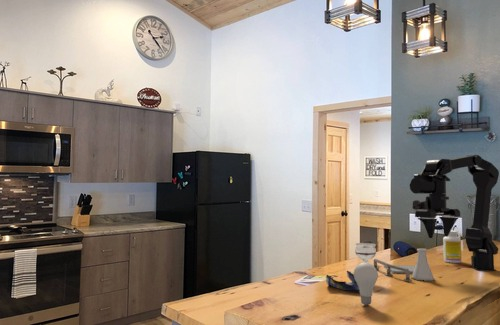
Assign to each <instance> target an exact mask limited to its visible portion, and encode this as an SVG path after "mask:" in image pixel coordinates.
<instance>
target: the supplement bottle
mask: <svg viewBox="0 0 500 325" xmlns="http://www.w3.org/2000/svg"><path fill="white" fill-rule="evenodd" d="M458 234H459V231H458V230H452V229H451V231H450V233H449V235H448V237H445V236H443V238H442V243H443V244H442V246H443V247H442V248H443V249H442V250H443V251H442V252H443V261H444V262H446V263H449V262H450V263H451V264H460V263H462V260H463V259H462V243H461V242H462V241H461V240H462V239H461V237H459V236H458ZM450 263H449V264H450Z"/></svg>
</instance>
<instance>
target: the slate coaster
mask: <svg viewBox="0 0 500 325" xmlns="http://www.w3.org/2000/svg"><path fill="white" fill-rule="evenodd" d="M394 266H398V267H402V268H406V269H408V270H409V273H410V275H412V274H413V271H414V268H415V265H405V264H404V265H396V264H395V265H394ZM383 268H385V269H386V270H387V266H385V265H383ZM390 272H391V274H395V273H400V274H401V275H402V274H403V275H404V273H406V272H405V271H402V270H398V269H394V268H390Z"/></svg>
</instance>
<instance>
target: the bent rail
mask: <svg viewBox="0 0 500 325" xmlns="http://www.w3.org/2000/svg"><path fill="white" fill-rule="evenodd" d="M378 264H381V265H382V266H384V265H385V266H387V269H386V273H385V274H384V276H386V277H392V276H393V273H392V272H390V268H394V269H398V270H402V271H405V272H406V274H405V278H403V281H404V282H406V281H408V282H409V283H411V281H412V280H413V279H412V278H411V277H410V275H411V274H410V273H409V270H408V269H406V268H402V267H398V266H394V265H393V264H390V263H388V262H386V261H385V262H384V261H382V260H380V259H377V258H374V259H373V266H374V267H375V268H376V270H377V271H378V270H380V268H379V267H378Z"/></svg>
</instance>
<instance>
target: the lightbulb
mask: <svg viewBox="0 0 500 325" xmlns="http://www.w3.org/2000/svg"><path fill="white" fill-rule="evenodd" d="M353 274H354V278H355V280H356V282H357V284H358V287H359V291H360V292H359V295H360V302H361V304H362V305H363V306H365V307H368V306H369V305H371V304H372V296H373V291H374V287H375V285H376V283H377V280H378V278H379V273H378V270H376V268H375V267H374V264H371V263H370V262H367V263H366V262H364V261H363V262H361V263H360V262H359V263H358V264H357V265H356V266H355V268H354V269H353Z"/></svg>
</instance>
